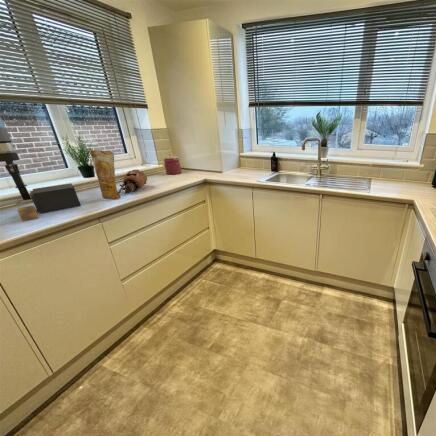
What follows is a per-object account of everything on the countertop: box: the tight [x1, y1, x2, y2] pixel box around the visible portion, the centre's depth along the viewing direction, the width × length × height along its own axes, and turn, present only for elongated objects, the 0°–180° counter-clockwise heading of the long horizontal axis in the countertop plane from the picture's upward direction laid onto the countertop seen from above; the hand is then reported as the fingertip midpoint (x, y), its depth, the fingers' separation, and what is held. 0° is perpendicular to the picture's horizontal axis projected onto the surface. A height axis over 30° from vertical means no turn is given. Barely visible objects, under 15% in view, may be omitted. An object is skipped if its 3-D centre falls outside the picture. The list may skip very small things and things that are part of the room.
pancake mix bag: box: [89, 149, 121, 200], centre depth 143 cm, size 7×19×28 cm, turn 64°
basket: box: [15, 190, 42, 213], centre depth 127 cm, size 21×13×9 cm, turn 136°
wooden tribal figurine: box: [118, 169, 148, 195], centre depth 162 cm, size 15×15×25 cm
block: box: [16, 205, 40, 222], centre depth 116 cm, size 6×6×6 cm
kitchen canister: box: [162, 152, 182, 176], centre depth 211 cm, size 13×13×18 cm
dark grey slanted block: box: [32, 182, 82, 214], centre depth 131 cm, size 16×14×11 cm
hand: (27, 199), depth 123 cm, fingers closed
